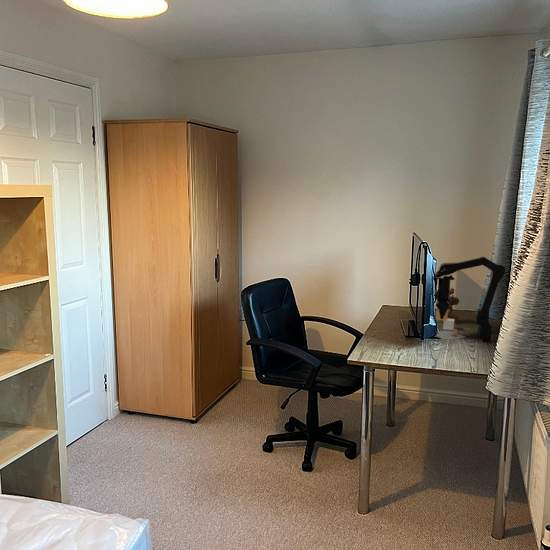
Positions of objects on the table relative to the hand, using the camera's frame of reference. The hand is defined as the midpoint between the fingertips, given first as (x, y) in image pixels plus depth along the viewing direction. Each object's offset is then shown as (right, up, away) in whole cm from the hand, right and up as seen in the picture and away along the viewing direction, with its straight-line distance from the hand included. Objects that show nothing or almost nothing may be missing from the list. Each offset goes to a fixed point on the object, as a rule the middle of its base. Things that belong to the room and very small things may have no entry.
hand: (441, 317), depth 287 cm
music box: (+16, -5, +38) cm, 41 cm away
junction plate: (+2, -10, +1) cm, 10 cm away
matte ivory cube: (+8, -8, +15) cm, 19 cm away
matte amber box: (0, -1, 0) cm, 1 cm away
